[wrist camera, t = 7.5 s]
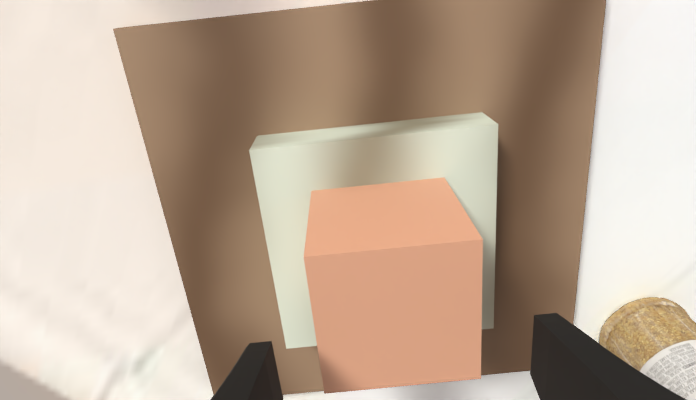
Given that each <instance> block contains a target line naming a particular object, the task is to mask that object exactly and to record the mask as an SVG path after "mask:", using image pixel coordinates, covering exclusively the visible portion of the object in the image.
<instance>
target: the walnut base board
mask: <svg viewBox="0 0 696 400" xmlns="http://www.w3.org/2000/svg"><path fill="white" fill-rule="evenodd" d="M605 6H606V0H372V1H363V2H354V3H345V4H335V5H326V6H317V7H308V8H299V9H289V10H280V11H271V12H262V13H252V14H243V15H234V16H225V17H216V18H206V19H197V20H188V21H179V22H169V23H160V24H151V25H142V26H133V27H124V28H116V29H113V30H114V34H115V37H116V41H117V45H118V48H119V52H120V56H121V59H122V63H123V67H124V70H125V74H126V77H127V81H128V85H129V88H130V92H131V96H132V99H133V103H134V107H135V110H136V114H137V117H138V121H139V125H140V128H141V132H142V136H143V139H144V143H145V146H146V150H147V154H148V157H149V161H150V165H151V168H152V172H153V176H154V179H155V183H156V186H157V190H158V194H159V197H160V201H161V205H162V208H163V212H164V216H165V219H166V223H167V226H168V230H169V234H170V237H171V241H172V245H173V248H174V252H175V256H176V259H177V263H178V266H179V270H180V274H181V277H182V281H183V285H184V288H185V292H186V296H187V299H188V303H189V306H190V310H191V314H192V317H193V321H194V325H195V328H196V332H197V336H198V339H199V343H200V346H201V350H202V354H203V357H204V361H205V365H206V368H207V372H208V376H209V379H210V383H211V386H212V390H213V394H215V393H216V392H217V390H218V389H219V387H220V386H221V385H222V383H223V382H224V380H225V379H226V377H227V376H228V374H229V373H230V371H231V370H232V368H233V367H234V365H235V364H236V362H237V361H238V359H239V358H240V356H241V354H242V353H243V351H244V350H245V348H246V347H247V346H248V344H249V343H256V342H266V341H272V346H273V350H274V355H275V360H276V365H277V370H278V375H279V380H280V385H281V390H282V395H284V394H294V393H305V392H315V391H324V387H323V381H322V374H321V368H320V361H319V355H318V348H317V342H316V335H315V328H314V322H313V315H312V309H311V302H310V296H309V289H308V283H307V276H306V270H305V263H304V249H305V241H306V232H307V224H308V215H309V206H310V198H311V191H314V190H324V189H334V188H344V187H353V186H363V185H373V184H383V183H393V182H403V181H413V180H423V179H433V178H443V177H444V178H445V179H446V181H447V182H448V184H449V186H450V187H451V189H452V190H453V192H454V194H455V195H456V197H457V198H458V200H459V202H460V203H461V205H462V207H463V208H464V210H465V211H466V213H467V215H468V216H469V218H470V219H471V221H472V223H473V224H474V226H475V227H476V229H477V231H478V232H479V234H480V236H481V237H482V239H483V265H482V335H481V375H489V374H499V373H509V372H519V371H530V370H531V354H532V338H533V323H534V315H539V314H550V313H557V314H559V315H560V316H562V317H563V318H565V319H566V320H567V321H569V322H570V323H572V324H573V319H574V310H575V300H576V290H577V280H578V270H579V261H580V251H581V241H582V231H583V221H584V212H585V202H586V192H587V182H588V172H589V163H590V153H591V143H592V133H593V123H594V114H595V104H596V94H597V84H598V74H599V65H600V55H601V45H602V35H603V25H604V16H605Z"/></svg>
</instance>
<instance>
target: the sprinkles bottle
mask: <svg viewBox="0 0 696 400" xmlns="http://www.w3.org/2000/svg"><path fill="white" fill-rule="evenodd" d="M599 344H600V345H602V346H603V347H604V348H606V349H607V350H609V351H610V352H612V353H613V354H614V355H616V356H617V357H619V358H620V359H622V360H623V361H625V362H626V363H628V364H629V365H631V366H632V367H634V368H635V369H637V370H638V371H640V372H641V373H643V374H644V375H646V376H648V377H649V378H651V379H652V380H654V381H656V382H657V383H659V384H660V385H662V386H664V387H665V388H667V389H669V390H670V391H672V392H674V393H676V394H677V395H679V396H681V397H683V398H685V399H686V400H696V323H695V322H694V321H693V320H692V319H691V318H690V317H689V315H688V314H687V312H686V311H685V310H684V309H683V308H682V307H681V306H680V305H678V304H676V303H674V302H673V301H670V300H668V299H665V298H656V297H649V298H643V299H639V300H636V301H633V302H630V303H628V304H626V305H624V306H623V307H621V308H620V309H619V310H618V311H616V312H615V313H613V314H612V315H611V316H610V317H609V318H608V319H607V321H606V322H605V324H604V325H603V326H602V330H601V333H600V341H599Z"/></svg>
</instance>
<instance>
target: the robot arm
mask: <svg viewBox="0 0 696 400" xmlns="http://www.w3.org/2000/svg"><path fill="white" fill-rule="evenodd" d="M530 374H531V377H532V379H533V382H534V385H535V387H536V390H537V393H538V395H539V398H540V400H686V399H685V398H683V397H681V396H679V395H677V394H676V393H674V392H672V391H670V390H669V389H667V388H665V387H664V386H662V385H660V384H659V383H657V382H656V381H654V380H652V379H651V378H649V377H648V376H646V375H644V374H643V373H641V372H640V371H638V370H637V369H635V368H634V367H632V366H631V365H629V364H628V363H626V362H625V361H623V360H622V359H620V358H619V357H617V356H616V355H614V354H613V353H612V352H610V351H609V350H607V349H606V348H604V347H603V346H602V345H600V344H599V343H597V342H596V341H595V340H593V339H592V338H591V337H589V336H588V335H586V334H585V333H584V332H582V331H581V330H580V329H578V328H577V327H576V326H574V325H573V324H572V323H570V322H569V321H567V320H566V319H565V318H563V317H562V316H560V315H559V314H557V313H550V314H539V315H534V323H533V338H532V354H531V370H530ZM211 400H283V395H282V390H281V385H280V380H279V375H278V370H277V365H276V360H275V355H274V350H273V346H272V341H266V342H256V343H249V344H248V346H247V347H246V348H245V350H244V351H243V353H242V354H241V356H240V358H239V359H238V361H237V362H236V364H235V365H234V367H233V368H232V370H231V371H230V373H229V374H228V376H227V377H226V379H225V380H224V382H223V383H222V385H221V386H220V387H219V389H218V390H217V392H216V393H215V394H214V396H213V397H212V399H211Z"/></svg>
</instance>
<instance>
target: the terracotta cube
mask: <svg viewBox="0 0 696 400" xmlns="http://www.w3.org/2000/svg"><path fill="white" fill-rule="evenodd" d="M304 263H305V270H306V276H307V283H308V289H309V296H310V302H311V309H312V315H313V322H314V328H315V335H316V342H317V348H318V355H319V361H320V368H321V374H322V381H323V387H324V393H335V392H345V391H356V390H366V389H376V388H387V387H397V386H408V385H418V384H429V383H439V382H450V381H460V380H471V379H481V335H482V265H483V239H482V237H481V236H480V234H479V232H478V231H477V229H476V227H475V226H474V224H473V223H472V221H471V219H470V218H469V216H468V215H467V213H466V211H465V210H464V208H463V207H462V205H461V203H460V202H459V200H458V198H457V197H456V195H455V194H454V192H453V190H452V189H451V187H450V186H449V184H448V182H447V181H446V179H445V178H444V177H443V178H433V179H423V180H413V181H403V182H393V183H383V184H373V185H363V186H353V187H344V188H334V189H324V190H314V191H311V198H310V206H309V215H308V224H307V232H306V241H305V249H304Z"/></svg>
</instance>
